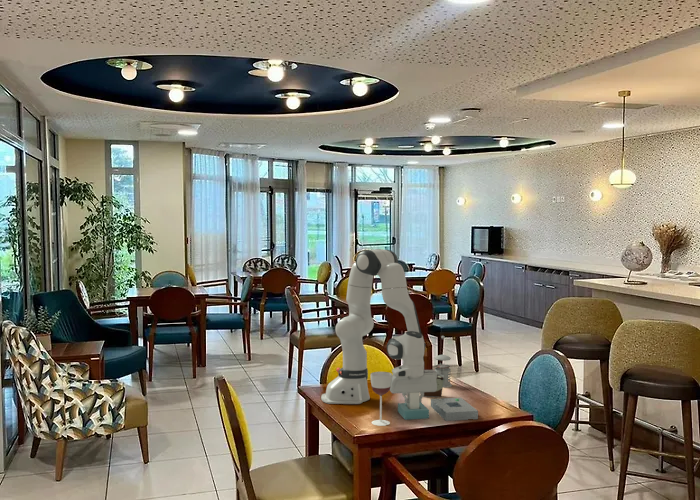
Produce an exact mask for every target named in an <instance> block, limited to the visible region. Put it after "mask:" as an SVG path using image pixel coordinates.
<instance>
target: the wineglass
mask: <svg viewBox="0 0 700 500" xmlns="http://www.w3.org/2000/svg"><path fill="white" fill-rule="evenodd" d="M392 375H393V373H391V372H387V371H375V372H371V373H370V383H371V388H372V391H373V392H374V393H375V394H377V395H379V419H375V420H372V421H371V424H372V425H374V426H378V427H381V426H383V427H385V426H388V425H390V424H391V422H390V421H389V420H385V419H383V415H382V414H383V405H382V404H383V396H384V395H386V394H388V393H389V392H390V387H391V381H392Z"/></svg>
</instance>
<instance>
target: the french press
mask: <svg viewBox="0 0 700 500" xmlns="http://www.w3.org/2000/svg"><path fill="white" fill-rule="evenodd" d="M441 339H446V337H445V336H444V335H441ZM451 358H452V357H450V356H449V355H446V354H444V353H442V354H439V355H436V356H435V357H434V359H435V360H436V361H441V362H444V361H450V360H451ZM441 362H440V363H439V364H435V368H434V371H436V372H437V374H441V375H443V376H444V378H445V381H444V380H443V388H442V389H446V388H451V387H453V384H452V383H451V368H450V365H448V364H445V363H441Z"/></svg>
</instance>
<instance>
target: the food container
mask: <svg viewBox="0 0 700 500" xmlns="http://www.w3.org/2000/svg"><path fill="white" fill-rule="evenodd" d="M443 380H444V381H445V378H444V376H443V375H441V374H437V379H436V382H437V390H436V391H435V392H424V396H423V397H424V398H442V395H443V389H444V388H443Z"/></svg>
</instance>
